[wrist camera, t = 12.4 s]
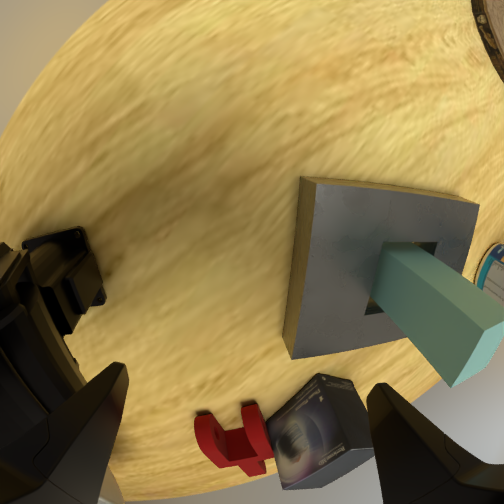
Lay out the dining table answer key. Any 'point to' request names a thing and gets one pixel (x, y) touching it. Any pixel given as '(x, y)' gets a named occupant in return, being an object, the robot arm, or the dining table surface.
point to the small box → (320, 434)
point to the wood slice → (491, 30)
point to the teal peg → (438, 310)
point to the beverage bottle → (492, 273)
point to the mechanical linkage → (236, 441)
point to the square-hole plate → (361, 257)
